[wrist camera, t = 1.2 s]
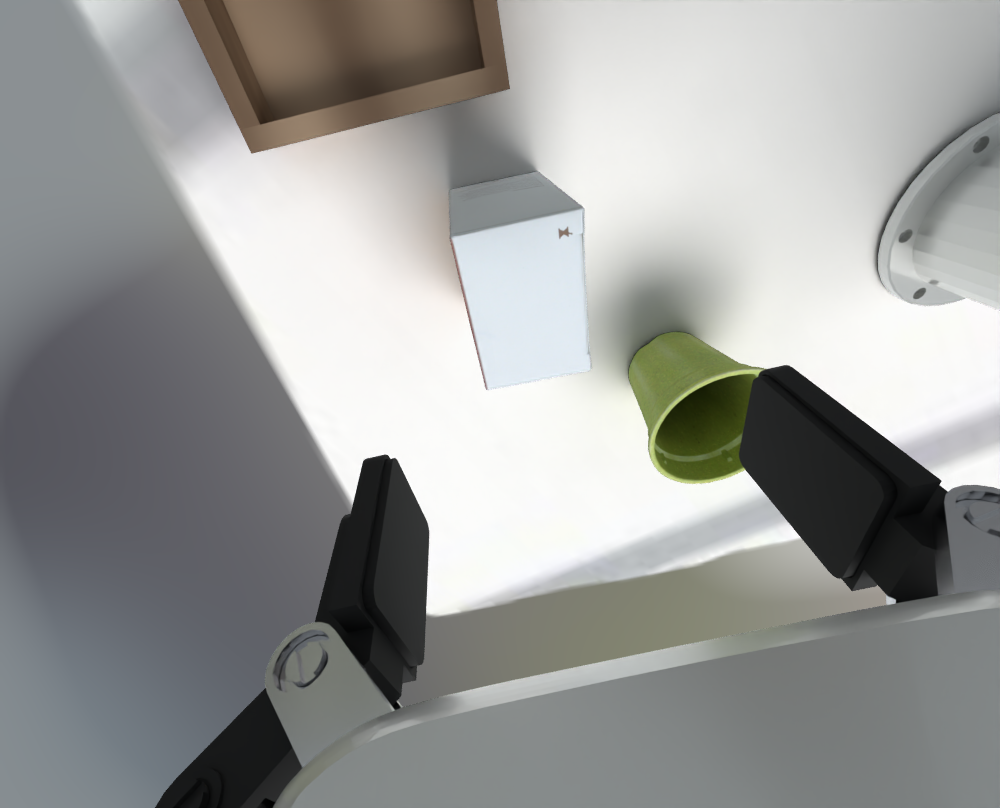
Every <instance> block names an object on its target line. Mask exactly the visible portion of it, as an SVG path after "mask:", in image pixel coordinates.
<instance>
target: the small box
mask: <svg viewBox="0 0 1000 808" xmlns="http://www.w3.org/2000/svg"><path fill="white" fill-rule="evenodd" d="M449 218H450V241H451V245H452V249H453V254H454V258H455V262H456V266H457V270H458V275H459V279H460V283H461V288H462V292H463V296H464V301H465V305H466V309H467V314H468V318H469V322H470V326H471V330H472V334H473V338H474V342H475V346H476V350H477V354H478V358H479V362H480V367H481V371H482V375H483V379H484V383H485V387H486V390H492V389H497V388H503V387H509V386H514V385H519V384H524V383H529V382H535V381H540V380H545V379H550V378H555V377H560V376H565V375H571V374H576V373H582V372H587V371H590V370H591V369H592V364H591V355H590V346H589V332H588V313H587V297H586V275H585V250H584V208H583V207H582V206H581V205H580V204H578V203H577V202H576V201H575V200H574V199H572V198H571V197H570V196H568V195H567V194H566V193H565V192H563V191H562V190H561V189H560V188H558V187H557V186H556V185H554V184H553V183H552V182H551V181H550V180H548V179H547V178H546V177H545V176H543V175H542V174H541V173H540V172H538V171H536V172H532V173H527V174H522V175H517V176H513V177H508V178H503V179H498V180H493V181H489V182H484V183H479V184H474V185H469V186H465V187H460V188H455V189H451V190H449Z"/></svg>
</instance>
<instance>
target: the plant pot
mask: <svg viewBox="0 0 1000 808" xmlns="http://www.w3.org/2000/svg"><path fill="white" fill-rule="evenodd" d="M763 370H766V369H764V368H759V367H751V366H748V365H745V364H741V363H738V362H736V361H734V360H733V359H731V358H729V357H728V356H726V355H724V354H723V353H721V352H719V351H717V350H716V349H714V348H712V347H711V346H709V345H708V344H706V343H704V342H703V341H701V340H699V339H698V338H696V337H694V336H692V335H690V334H688V333H684V332H670V333H665V334H662V335H659V336H657V337H656V338H655V339H654V340H653V341H651V342H650V343H649V344H647V345H646V346H644V347H643V348H641V349H639V350H638V352H637V353H636V354H635V356H634V358H633V359H632V362H631V364H630V367H629V381H630V384H631V386H632V389H633V391H634V394H635V396H636V399H637V401H638V404H639V406H640V409H641V411H642V414H643V417H644V419H645V422H646V425H647V427H648V436H649V440H648V450H649V455H650V458H651V461H652V463H653V465H654V467H655V468H656V469H657V470H658V471H659V472H660V473H661V474H662V475H664V476H665V477H667V478H669V479H672V480H674V481H677V482H681V483H689V484H696V483H700V484H702V483H710V482H713V481H718V480H723V479H726V478H728V477H731V476H733V475H736V474H738V473H740V472H742V471H744V470H745V469H744V467H743V466H742V464H741V462H740V459H739V450H740V445H741V440H742V434H743V429H744V424H745V419H746V413H747V408H748V403H749V398H750V392H751V387H752V382H753V380H754V379H755V378H757V377H758V375H759V373H760V372H761V371H763Z"/></svg>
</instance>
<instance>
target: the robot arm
mask: <svg viewBox="0 0 1000 808" xmlns="http://www.w3.org/2000/svg"><path fill="white" fill-rule="evenodd" d="M878 271H879V275H880V278H881V281H882V283H883V285H884V286H885V288H886V289H887V290H888V292H890V293H891V294H893V295H894V296H896V297H897V298H899V299H901V300H904V301H906V302H908V303H911V304H915V305H921V306H939V305H944V304H948V303H953V302H957V301H960V300H962V299H965V298H967V299H970V300H973V301H975V302H978V303H981V304H983V305H986V306H989V307H991V308H994V309H997V310H999V311H1000V112H999V113H997V114H994V115H992V116H991V117H989V118H987V119H985V120H984V121H982V122H980V123H979V124H977V125H975V126H974V127H972V128H970V129H969V130H968V131H966V132H965V133H964V134H962V135H961V136H960V137H958V138H957V139H956V140H954V141H953V142H952V143H950V144H949V145H948V146H947V147H946V148H945V149H944V150H943V151H941V152H940V153H939V154H938V155H937V156H936V157H935V158H934V159H933V160H932V161H931V162H930V163H929V164H928V165H927V166H926V167H925V168H924V169H923V171H922V172H921V173H920V174H919V175H918V176H917V178H916V179H915V180H914V181H913V182H912V183H911V185H910V186H909V188H908V189H907V190H906V192H905V193H904V195H903V196H902V198H901V199H900V200H899V202H898V204H897V206H896V207H895V209H894V211H893V213H892V215H891V217H890V219H889V220H888V223H887V225H886V228H885V231H884V233H883V236H882V239H881V243H880V248H879V253H878ZM739 459H740V462H741V464H742V466H743V467H744V469H745V470H746V471H747V472H748V473H749V475H750V476H751V477H752V478H753V480H754V481H755V482H756V483H757V484H758V486H759V487H760V488H761V489H762V491H763V492H764V493H765V494H766V495H767V497H768V498H769V499H770V500H771V502H772V503H773V504H774V505H775V506H776V508H777V509H778V510H779V511H780V513H781V514H782V515H783V516H784V517H785V519H786V520H787V521H788V522H789V524H790V525H791V526H792V527H793V528H794V530H795V531H796V532H797V533H798V535H799V536H800V537H801V538H802V539H803V540H804V542H805V543H806V544H807V545H808V547H809V548H810V549H811V550H812V552H813V553H814V554H815V555H816V556H817V558H818V559H819V560H820V561H821V563H822V564H823V565H824V566H825V567H826V568H827V570H828V571H829V572H830V573H831V574H832V575H833V576H834V577H836V578H841V579H842V580H843V581H844V582H845V583H846V585H847V586H848V587H849V588H850V589H851V591H855V590H860V589H865V588H870V587H875V586H877V585H878V586H879V587H880V588H881V589H882V590H883V591H884V592H885V594H886V599H887V600H886V603H887V604H886V605H885V606H879V607H873V608H868V609H862V610H857V611H853V612H848V613H842V614H837V615H832V616H827V617H822V618H817V619H812V620H807V621H802V622H797V623H792V624H787V625H781V626H777V627H771V628H766V629H761V630H757V631H751V632H747V633H741V634H736V635H731V636H726V637H721V638H716V639H712V640H707V641H702V642H697V643H692V644H687V645H682V646H677V647H672V648H667V649H662V650H657V651H652V652H648V653H643V654H638V655H633V656H628V657H623V658H618V659H613V660H608V661H604V662H599V663H594V664H589V665H584V666H580V667H575V668H570V669H566V670H560V671H555V672H551V673H546V674H541V675H536V676H531V677H527V678H522V679H517V680H513V681H507V682H503V683H499V684H494V685H490V686H485V687H481V688H477V689H472V690H468V691H464V692H459V693H455V694H450V695H446V696H442V697H437V698H434V699H430V700H427V701H423V702H420V703H416V704H413V705H409V706H406V707H402V706H401V704H400V703H399V702H398V699H399V697H400V696H401V692H402V683H405V682H410V681H415V680H416V672H417V665H421V664H422V663H423V660H424V647H425V624H426V623H425V622H426V600H427V576H428V551H429V528H428V523H427V521H426V519H425V517H424V514H423V512H422V510H421V508H420V506H419V504H418V502H417V500H416V498H415V496H414V494H413V492H412V490H411V487H410V485H409V483H408V481H407V479H406V477H405V475H404V473H403V471H402V469H401V467H400V465H399V463H398V461H397V459H396V458H393V459H390V458H389V456H388V455H381V456H377V457H372V458H368V459H365V460H364V461H363V464H362V468H361V473H360V477H359V481H358V485H357V490H356V494H355V498H354V502H353V507H352V511H351V514H348V515H345V516H344V517H343V518H342V520H341V523H340V526H339V530H338V534H337V538H336V542H335V546H334V549H333V553H332V557H331V561H330V565H329V569H328V573H327V577H326V581H325V585H324V589H323V592H322V596H321V600H320V604H319V608H318V612H317V616H316V620H315V623H309V624H307V625H305V626H302V627H300V628H298V629H297V630H295V631H294V632H292V633H291V634H290V635H288V636H287V638H285V639H284V640H283V642H282V643H281V644H280V645H279V646H278V647H277V649H276V650H275V652H274V654H273V655H272V657H271V659H270V661H269V664H268V667H267V669H266V675H265V686H266V688H265V689H264V690H263V691H262V692H261V693H260V694H259V695H258V696H257V697H256V698H255V699H254V700H253V701H252V702H251V703H250V704H249V705H248V706H247V707H246V708H245V709H244V710H243V711H242V712H241V713H240V714H239V715H238V716H237V717H236V719H234V720H233V722H232V723H231V724H230V725H229V726H228V727H227V728H226V729H225V730H224V731H223V732H222V733H221V734H220V735H219V736H218V737H217V738H216V739H215V740H214V741H213V742H212V743H211V744H210V745H209V746H208V747H207V748H206V749H205V750H204V751H203V752H202V753H201V754H200V755H199V756H198V757H197V758H196V759H195V760H194V761H193V762H192V763H191V764H190V765H189V766H188V767H187V768H186V769H185V770H184V771H183V772H182V773H181V774H180V775H179V776H178V777H177V778H176V780H175V781H174V782H173V783H172V784H171V785H170V787H169V788H168V789H167V790H166V792H165V793H164V794H163V796H162V798H161V799H160V801H159V802H158V804H157V806H156V807H155V808H1000V489H997V488H994V487H987V486H980V485H963V486H959V487H956V488H953V489H951V490H950V491H949V492H947V491H946V490H945V489H944V488H942V487H941V486H940V485H939V484H940V483H941V480H940V479H939V478H937V477H936V476H935V475H933V474H932V473H931V472H929V471H928V470H927V469H925V468H924V467H923V466H922V465H920V464H919V463H918V462H916V461H915V460H914V459H912V458H911V457H910V456H908V455H907V454H906V453H904V452H903V451H902V450H900V449H899V448H898V447H896V446H895V445H894V444H893V443H891V442H890V441H889V440H887V439H886V438H885V437H883V436H882V435H881V434H879V433H878V432H877V431H875V430H874V429H873V428H871V427H870V426H869V425H867V424H866V423H865V422H864V421H862V420H861V419H860V418H858V417H857V416H856V415H854V414H853V413H852V412H850V411H849V410H848V409H846V408H845V407H844V406H842V405H841V404H840V403H838V402H837V401H836V400H835V399H833V398H832V397H831V396H829V395H828V394H827V393H825V392H824V391H823V390H821V389H820V388H819V387H817V386H816V385H815V384H813V383H812V382H811V381H809V380H808V379H807V378H806V377H804V376H803V375H802V374H800V373H799V372H798V371H796V370H795V369H794V368H792V367H790V366H788V365H784V366H779V367H775V368H770V369H766V370H763V371H761V372H760V373H759V375H758V377H757V378H755V379H754V380H753V382H752V387H751V392H750V398H749V403H748V408H747V413H746V419H745V424H744V429H743V434H742V440H741V445H740V450H739Z"/></svg>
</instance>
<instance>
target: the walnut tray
mask: <svg viewBox="0 0 1000 808" xmlns="http://www.w3.org/2000/svg"><path fill="white" fill-rule="evenodd" d="M178 1H179V3H180V5H181V7H182V9H183V11H184V13H185V16H186V18H187V20H188V22H189V24H190V26H191V28H192V30H193V32H194V34H195V36H196V39H197V41H198V43H199V45H200V47H201V49H202V51H203V53H204V55H205V57H206V59H207V62H208V64H209V66H210V68H211V70H212V72H213V74H214V76H215V78H216V80H217V82H218V85H219V87H220V89H221V91H222V93H223V95H224V97H225V99H226V101H227V103H228V105H229V107H230V110H231V112H232V114H233V116H234V118H235V120H236V122H237V124H238V126H239V128H240V130H241V133H242V135H243V137H244V139H245V141H246V143H247V145H248V147H249V149H250V151H251V153H256V152H260V151H264V150H268V149H273V148H277V147H280V146H284V145H288V144H292V143H296V142H300V141H304V140H308V139H312V138H316V137H320V136H324V135H328V134H332V133H336V132H340V131H344V130H348V129H352V128H356V127H360V126H364V125H368V124H372V123H376V122H380V121H384V120H388V119H392V118H396V117H400V116H404V115H408V114H412V113H416V112H420V111H424V110H428V109H432V108H436V107H440V106H444V105H448V104H452V103H456V102H460V101H464V100H468V99H472V98H476V97H480V96H484V95H488V94H492V93H496V92H500V91H504V90H507V89H510V87H509V80H508V73H507V66H506V60H505V53H504V46H503V40H502V33H501V26H500V20H499V13H498V6H497V0H178Z"/></svg>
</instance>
